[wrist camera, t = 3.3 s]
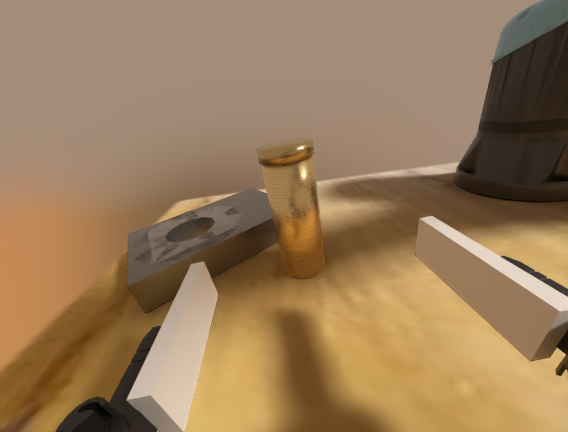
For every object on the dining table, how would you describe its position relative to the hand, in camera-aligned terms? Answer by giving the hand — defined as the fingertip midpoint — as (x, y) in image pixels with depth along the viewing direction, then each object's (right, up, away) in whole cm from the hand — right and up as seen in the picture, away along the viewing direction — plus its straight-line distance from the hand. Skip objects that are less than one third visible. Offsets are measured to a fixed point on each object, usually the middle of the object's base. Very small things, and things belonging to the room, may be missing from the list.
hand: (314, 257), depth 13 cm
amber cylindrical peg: (+1, -3, +12) cm, 13 cm away
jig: (-12, -2, +21) cm, 24 cm away
